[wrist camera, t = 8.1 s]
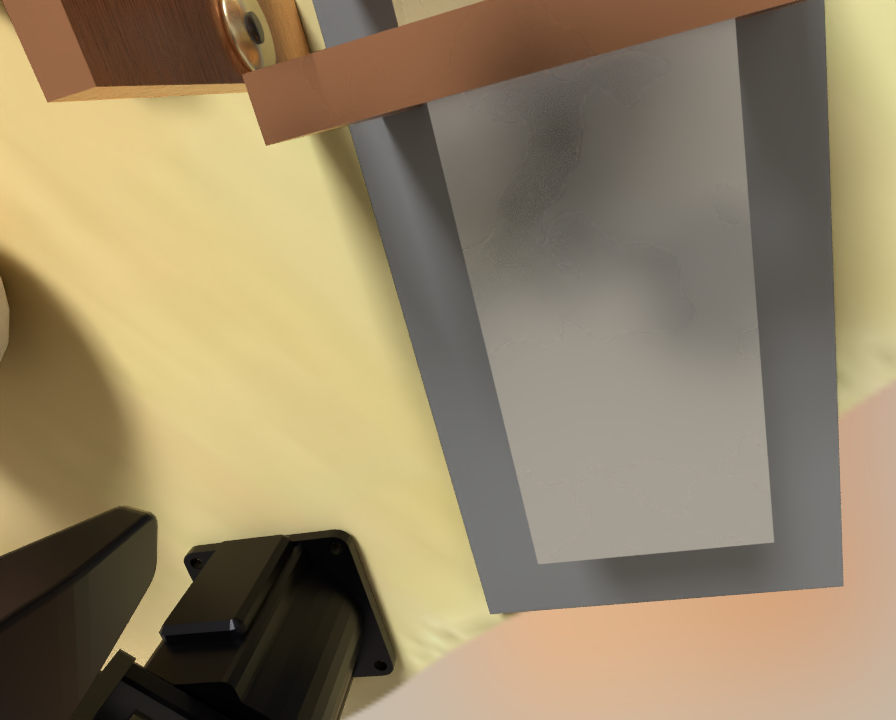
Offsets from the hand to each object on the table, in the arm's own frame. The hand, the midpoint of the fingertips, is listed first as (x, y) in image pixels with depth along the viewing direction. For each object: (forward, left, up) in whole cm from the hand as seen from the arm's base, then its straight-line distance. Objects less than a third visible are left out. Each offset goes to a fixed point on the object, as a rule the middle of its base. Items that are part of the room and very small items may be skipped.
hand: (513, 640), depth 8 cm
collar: (+7, -2, -12) cm, 14 cm away
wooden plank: (+8, +5, -12) cm, 15 cm away
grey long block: (+3, -2, -11) cm, 12 cm away
